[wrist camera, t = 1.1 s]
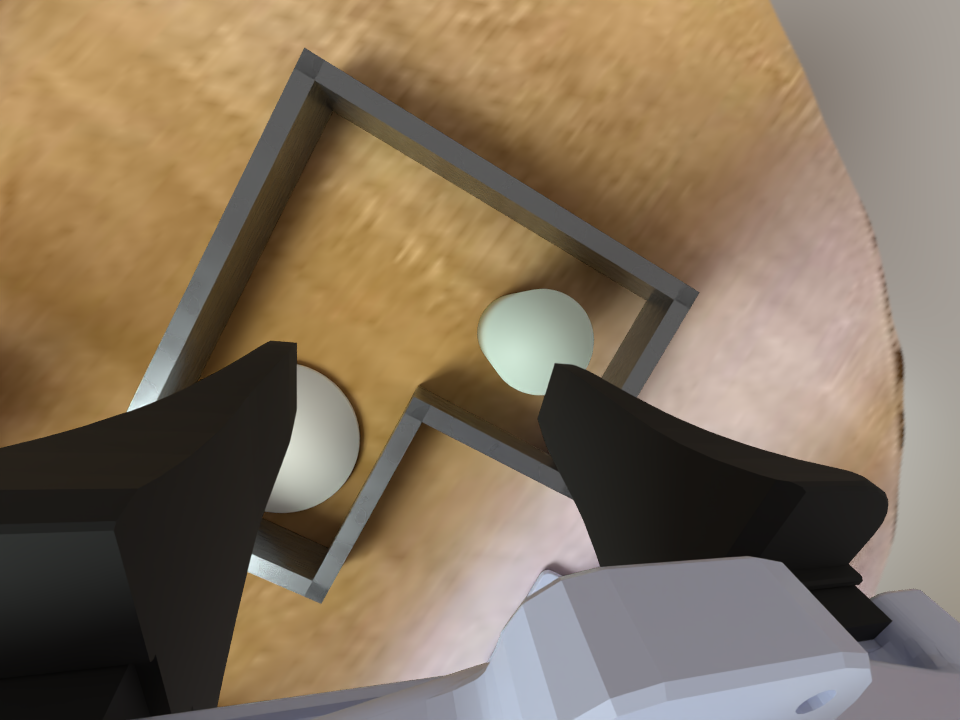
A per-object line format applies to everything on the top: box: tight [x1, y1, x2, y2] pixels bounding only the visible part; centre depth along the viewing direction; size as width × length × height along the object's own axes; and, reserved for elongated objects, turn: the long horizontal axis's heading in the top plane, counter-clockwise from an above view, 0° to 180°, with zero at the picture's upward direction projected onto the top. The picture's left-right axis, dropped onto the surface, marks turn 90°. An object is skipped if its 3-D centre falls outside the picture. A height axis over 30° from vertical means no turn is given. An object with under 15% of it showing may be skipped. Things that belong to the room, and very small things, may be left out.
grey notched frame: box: [127, 48, 700, 603], centre depth 23 cm, size 22×24×3 cm
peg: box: [477, 289, 594, 395], centre depth 21 cm, size 4×4×7 cm
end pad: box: [265, 364, 360, 513], centre depth 24 cm, size 9×9×1 cm
